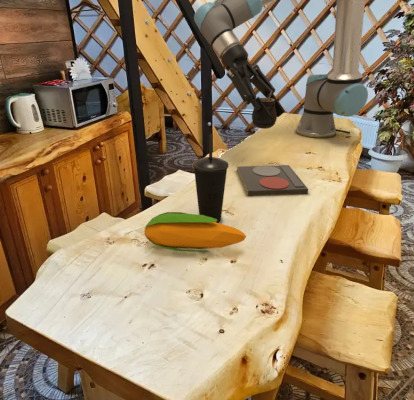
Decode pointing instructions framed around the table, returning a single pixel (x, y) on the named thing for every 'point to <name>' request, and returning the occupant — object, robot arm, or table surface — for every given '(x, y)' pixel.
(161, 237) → the corn
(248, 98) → the robot arm
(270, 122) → the mate gourd
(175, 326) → the table surface
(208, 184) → the drinking cup
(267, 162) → the table surface
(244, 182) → the hob
